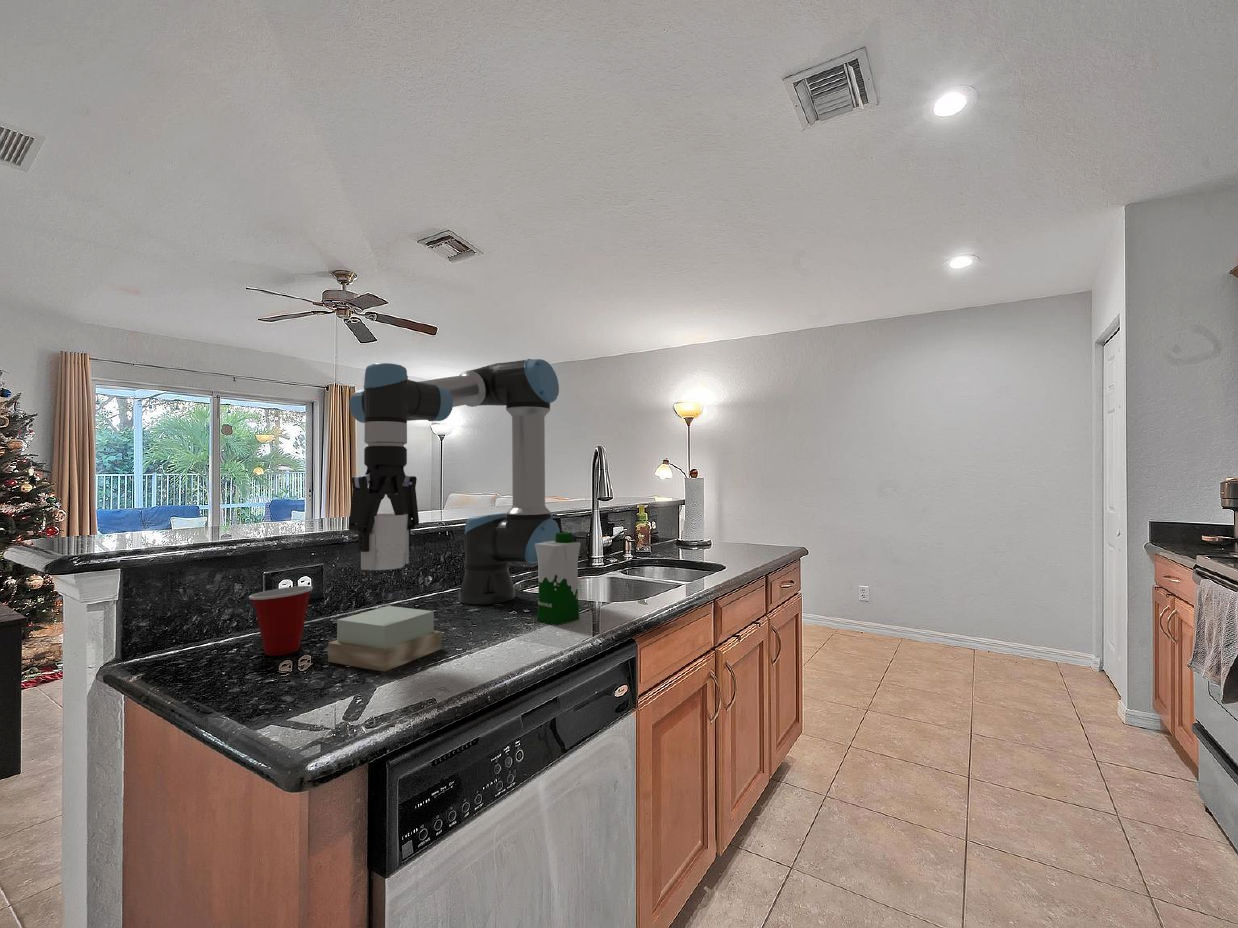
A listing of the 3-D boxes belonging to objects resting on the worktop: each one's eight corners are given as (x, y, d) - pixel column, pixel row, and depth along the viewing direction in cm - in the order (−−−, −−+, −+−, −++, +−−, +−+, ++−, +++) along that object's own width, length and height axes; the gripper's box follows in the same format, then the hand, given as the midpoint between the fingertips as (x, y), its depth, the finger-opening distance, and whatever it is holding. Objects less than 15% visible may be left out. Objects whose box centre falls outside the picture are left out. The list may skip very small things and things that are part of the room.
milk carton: (585, 619, 133) (584, 533, 133) (556, 627, 126) (555, 536, 126) (559, 613, 138) (558, 531, 139) (530, 620, 132) (530, 534, 132)
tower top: (388, 625, 115) (388, 605, 116) (433, 631, 110) (433, 611, 110) (337, 641, 105) (337, 619, 105) (384, 649, 100) (384, 626, 100)
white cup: (397, 563, 113) (397, 512, 113) (414, 567, 107) (414, 514, 108) (356, 567, 107) (356, 514, 108) (372, 572, 102) (372, 516, 102)
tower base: (387, 643, 116) (387, 624, 116) (441, 651, 111) (441, 631, 111) (327, 664, 104) (328, 642, 104) (384, 674, 98) (384, 651, 98)
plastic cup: (272, 642, 116) (273, 583, 116) (324, 643, 115) (324, 583, 115) (233, 660, 105) (234, 594, 105) (290, 660, 104) (290, 595, 105)
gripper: (410, 448, 119) (410, 558, 118) (324, 443, 100) (324, 573, 100) (438, 447, 116) (438, 560, 115) (355, 442, 97) (355, 576, 96)
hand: (385, 566), depth 107 cm, fingers closed on white cup, 7 cm apart
